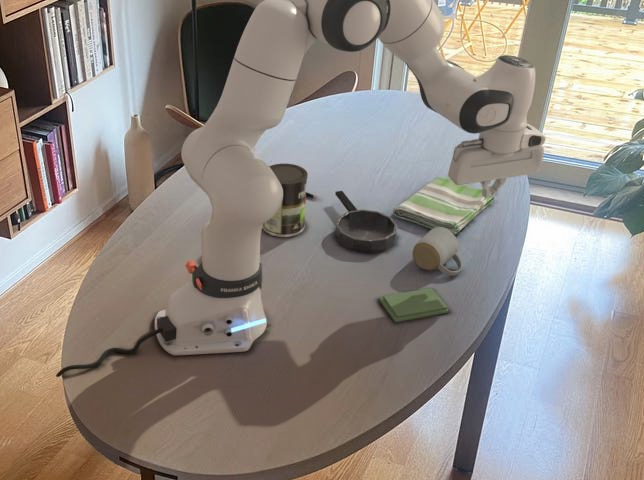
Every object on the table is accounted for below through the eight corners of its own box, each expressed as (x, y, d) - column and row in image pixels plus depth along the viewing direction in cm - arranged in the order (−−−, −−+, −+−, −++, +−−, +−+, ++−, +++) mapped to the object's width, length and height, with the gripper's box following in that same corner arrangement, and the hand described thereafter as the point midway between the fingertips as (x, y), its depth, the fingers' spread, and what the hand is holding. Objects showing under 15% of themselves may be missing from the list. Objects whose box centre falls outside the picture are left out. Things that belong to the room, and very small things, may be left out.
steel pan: (349, 257, 186) (350, 244, 184) (312, 205, 204) (312, 193, 202) (404, 248, 189) (406, 235, 187) (363, 198, 207) (364, 186, 205)
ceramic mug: (407, 265, 183) (412, 236, 178) (426, 250, 188) (431, 221, 183) (450, 283, 178) (456, 254, 173) (467, 267, 183) (474, 238, 178)
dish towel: (390, 216, 200) (391, 203, 198) (433, 181, 215) (435, 168, 213) (454, 239, 192) (456, 226, 190) (495, 201, 207) (497, 188, 205)
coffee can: (307, 217, 199) (310, 165, 191) (301, 239, 191) (303, 186, 183) (266, 213, 201) (267, 160, 192) (257, 234, 193) (258, 181, 184)
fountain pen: (320, 199, 207) (320, 194, 206) (317, 201, 206) (318, 196, 205) (272, 184, 213) (272, 179, 212) (269, 186, 212) (269, 180, 211)
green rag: (395, 322, 166) (395, 317, 166) (379, 300, 173) (379, 295, 172) (448, 312, 169) (449, 307, 169) (430, 291, 175) (431, 286, 175)
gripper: (463, 149, 163) (452, 209, 171) (553, 136, 167) (538, 196, 176) (448, 135, 167) (438, 195, 176) (536, 123, 172) (522, 182, 181)
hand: (489, 195), depth 176 cm, fingers closed
